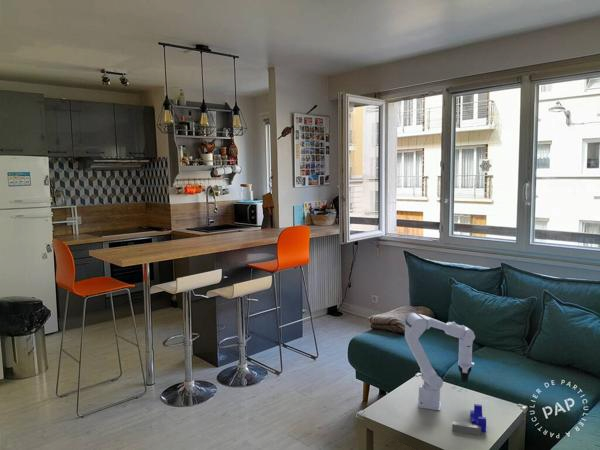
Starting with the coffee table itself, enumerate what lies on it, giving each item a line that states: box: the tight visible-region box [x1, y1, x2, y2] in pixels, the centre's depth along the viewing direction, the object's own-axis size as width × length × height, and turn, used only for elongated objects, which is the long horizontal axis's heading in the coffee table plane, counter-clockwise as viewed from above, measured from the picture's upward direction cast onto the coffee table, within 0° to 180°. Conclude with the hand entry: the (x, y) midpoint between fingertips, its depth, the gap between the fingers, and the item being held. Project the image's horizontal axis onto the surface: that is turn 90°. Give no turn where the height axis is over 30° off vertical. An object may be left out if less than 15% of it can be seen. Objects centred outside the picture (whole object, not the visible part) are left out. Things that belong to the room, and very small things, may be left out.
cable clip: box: [469, 403, 487, 434], centre depth 192 cm, size 12×4×6 cm, turn 167°
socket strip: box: [451, 421, 482, 437], centre depth 187 cm, size 11×2×3 cm, turn 70°
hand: (464, 381), depth 210 cm, fingers closed
